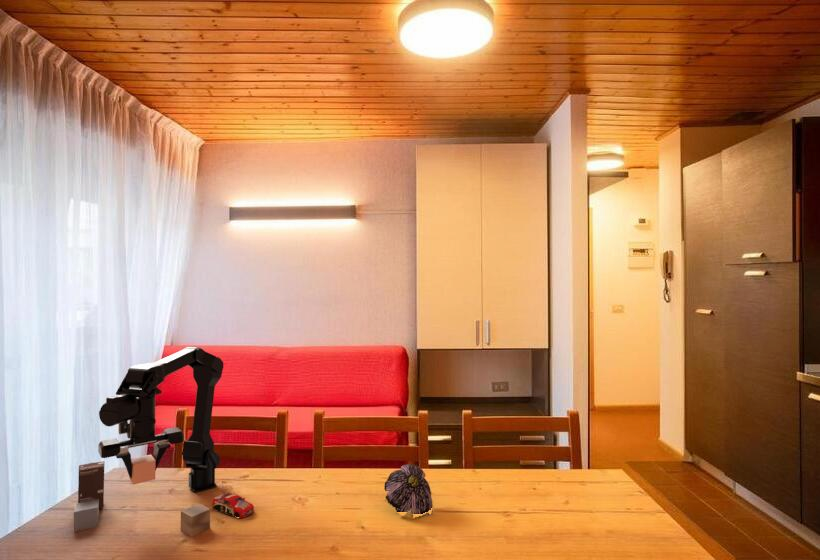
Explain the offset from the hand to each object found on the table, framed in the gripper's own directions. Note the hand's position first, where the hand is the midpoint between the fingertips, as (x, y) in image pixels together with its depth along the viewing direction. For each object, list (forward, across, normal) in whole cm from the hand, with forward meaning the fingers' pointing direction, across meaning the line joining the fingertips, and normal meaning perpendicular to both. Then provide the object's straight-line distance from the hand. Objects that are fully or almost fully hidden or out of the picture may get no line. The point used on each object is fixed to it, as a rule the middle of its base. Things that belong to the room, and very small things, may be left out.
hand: (142, 474), depth 123 cm
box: (+13, +9, -18) cm, 24 cm away
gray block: (+13, +11, -9) cm, 19 cm away
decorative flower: (+13, -60, +37) cm, 72 cm away
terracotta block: (+1, 0, 0) cm, 1 cm away
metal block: (+13, -10, +11) cm, 20 cm away
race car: (+14, -21, +7) cm, 26 cm away
